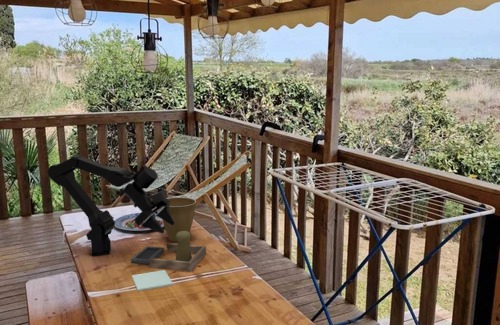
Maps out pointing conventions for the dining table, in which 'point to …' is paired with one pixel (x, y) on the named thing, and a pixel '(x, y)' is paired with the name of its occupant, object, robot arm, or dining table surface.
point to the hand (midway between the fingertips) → (168, 228)
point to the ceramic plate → (133, 222)
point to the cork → (183, 246)
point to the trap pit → (147, 255)
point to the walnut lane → (179, 265)
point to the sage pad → (151, 280)
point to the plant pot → (180, 216)
